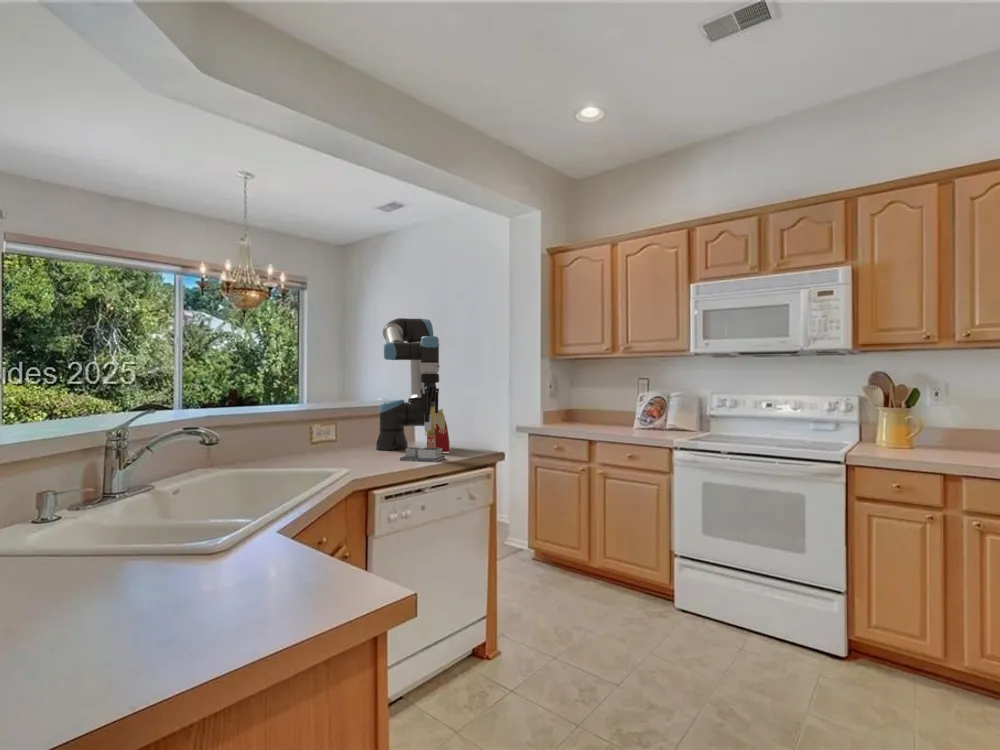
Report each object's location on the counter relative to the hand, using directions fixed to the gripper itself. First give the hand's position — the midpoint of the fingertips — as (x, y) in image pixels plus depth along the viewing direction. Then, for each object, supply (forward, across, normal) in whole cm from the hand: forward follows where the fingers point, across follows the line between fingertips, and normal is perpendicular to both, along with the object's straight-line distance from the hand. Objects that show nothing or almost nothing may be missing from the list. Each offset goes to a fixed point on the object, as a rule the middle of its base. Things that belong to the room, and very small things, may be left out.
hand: (430, 429), depth 215 cm
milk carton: (+13, +20, +6) cm, 25 cm away
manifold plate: (+13, 0, +4) cm, 13 cm away
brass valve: (+2, 0, 0) cm, 2 cm away
